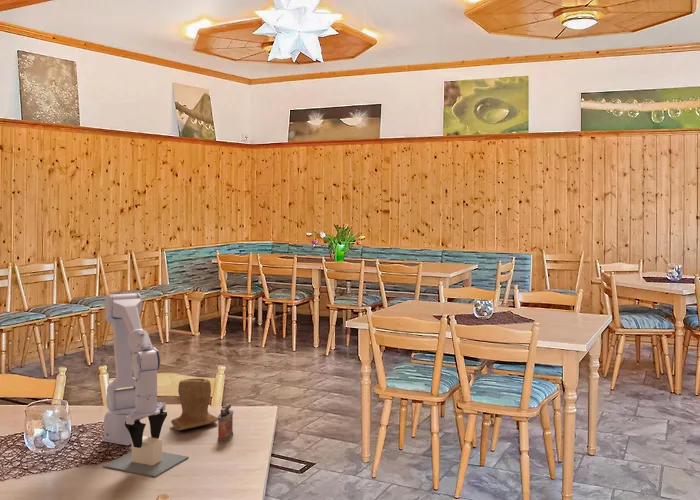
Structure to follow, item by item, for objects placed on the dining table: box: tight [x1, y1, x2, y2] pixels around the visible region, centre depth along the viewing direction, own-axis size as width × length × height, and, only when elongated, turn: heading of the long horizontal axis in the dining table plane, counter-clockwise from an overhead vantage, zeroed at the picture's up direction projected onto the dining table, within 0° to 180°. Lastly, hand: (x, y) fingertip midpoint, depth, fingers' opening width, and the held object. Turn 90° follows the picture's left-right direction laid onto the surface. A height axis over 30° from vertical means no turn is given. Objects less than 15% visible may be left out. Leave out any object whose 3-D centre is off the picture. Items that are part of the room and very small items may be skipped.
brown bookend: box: [170, 377, 218, 432], centre depth 228 cm, size 15×12×15 cm
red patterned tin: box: [217, 403, 234, 443], centre depth 217 cm, size 8×3×10 cm, turn 168°
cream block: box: [130, 435, 163, 465], centre depth 196 cm, size 4×7×6 cm, turn 69°
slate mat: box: [103, 451, 190, 478], centre depth 197 cm, size 17×15×1 cm
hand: (146, 442), depth 196 cm, fingers open, 7 cm apart
